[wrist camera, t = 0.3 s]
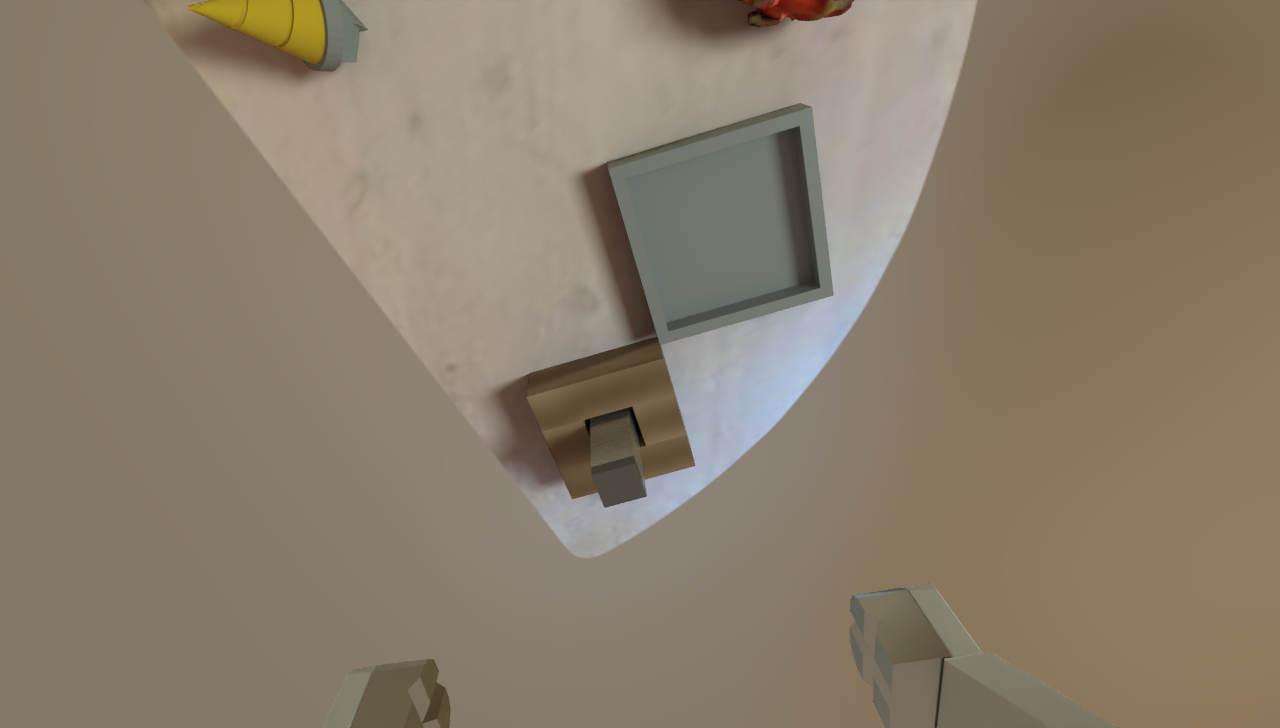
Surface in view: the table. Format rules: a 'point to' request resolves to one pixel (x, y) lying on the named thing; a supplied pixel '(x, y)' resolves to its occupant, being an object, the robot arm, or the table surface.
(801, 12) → the dragon fruit
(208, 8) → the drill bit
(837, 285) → the table surface
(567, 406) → the hitch block
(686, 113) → the table surface
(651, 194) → the tray
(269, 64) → the table surface
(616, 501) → the metal pin
